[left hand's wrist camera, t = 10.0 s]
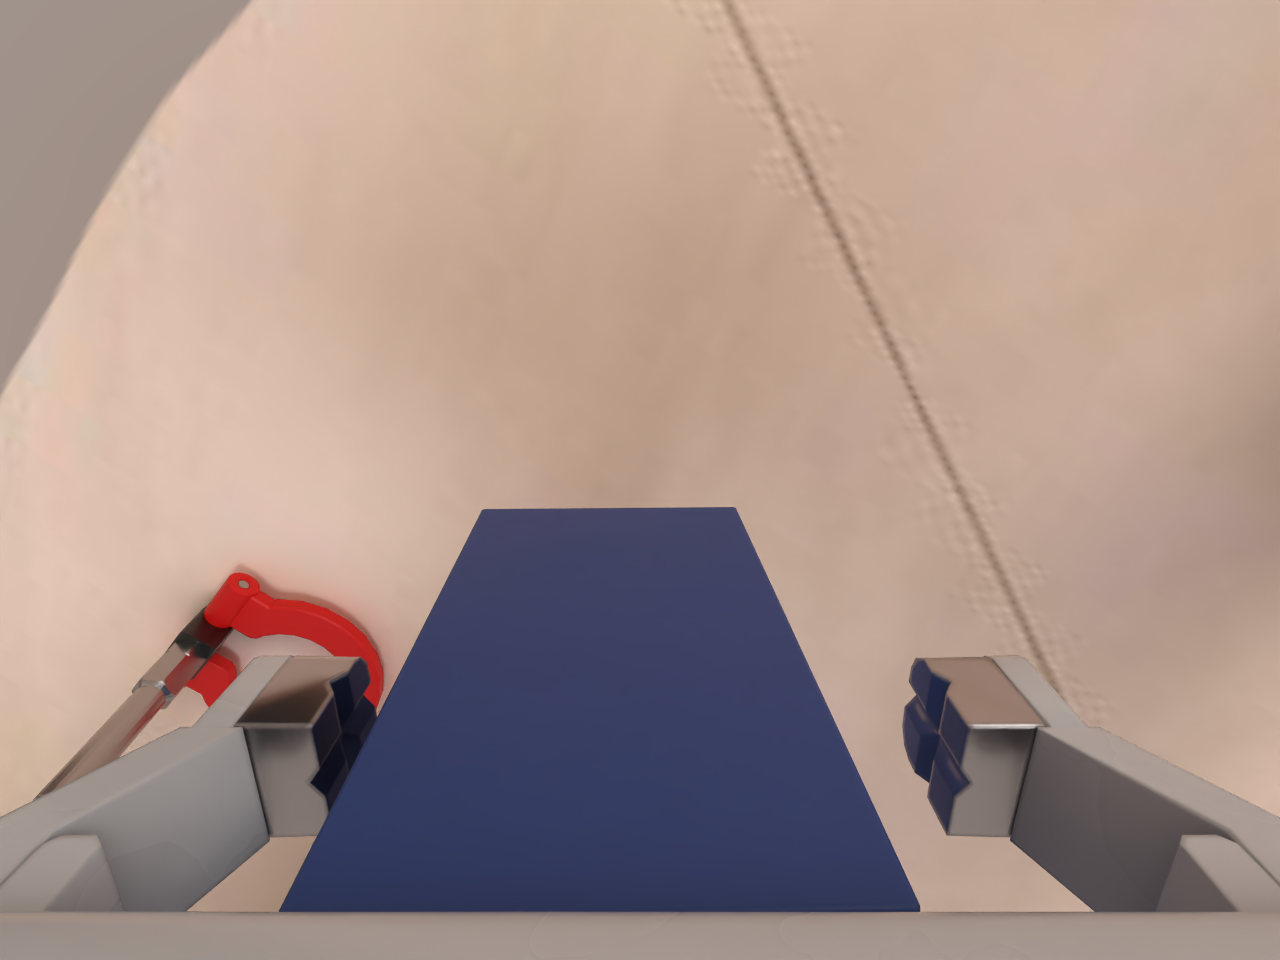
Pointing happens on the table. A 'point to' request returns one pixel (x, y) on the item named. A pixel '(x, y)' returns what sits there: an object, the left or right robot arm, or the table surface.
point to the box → (604, 739)
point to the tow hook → (217, 663)
